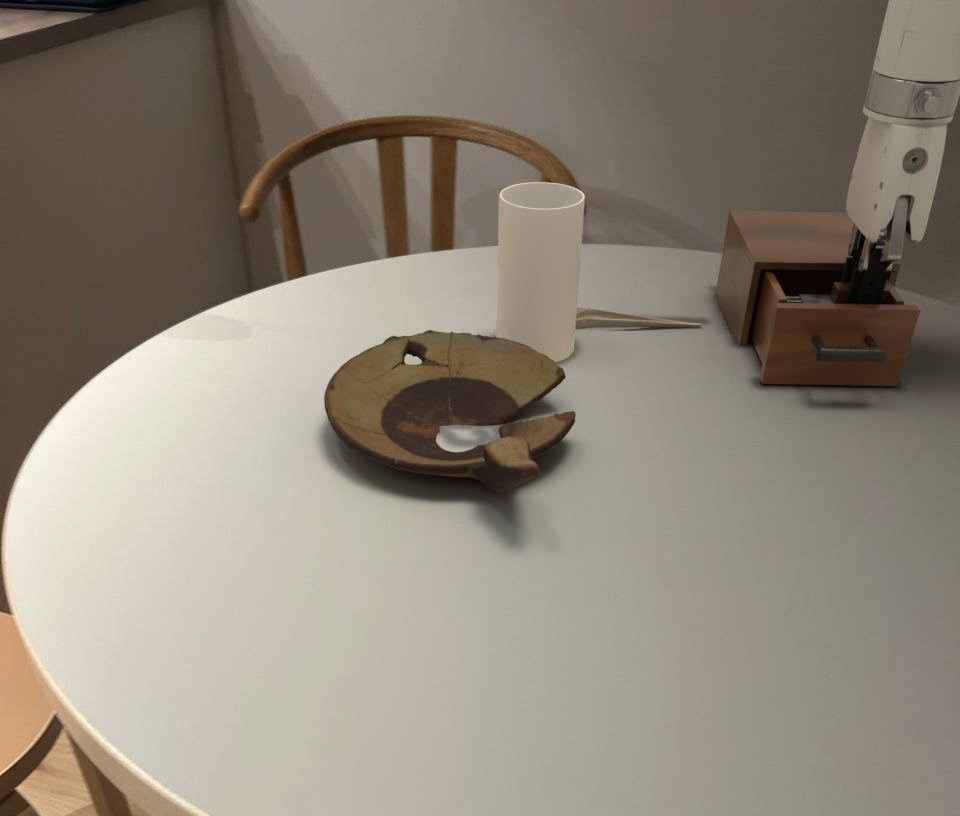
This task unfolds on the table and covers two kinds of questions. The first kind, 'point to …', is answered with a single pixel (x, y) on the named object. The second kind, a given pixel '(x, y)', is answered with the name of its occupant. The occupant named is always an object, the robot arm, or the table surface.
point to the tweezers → (621, 320)
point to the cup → (539, 266)
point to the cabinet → (777, 255)
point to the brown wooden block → (832, 295)
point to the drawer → (828, 333)
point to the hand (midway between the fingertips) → (857, 302)
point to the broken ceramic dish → (447, 405)
